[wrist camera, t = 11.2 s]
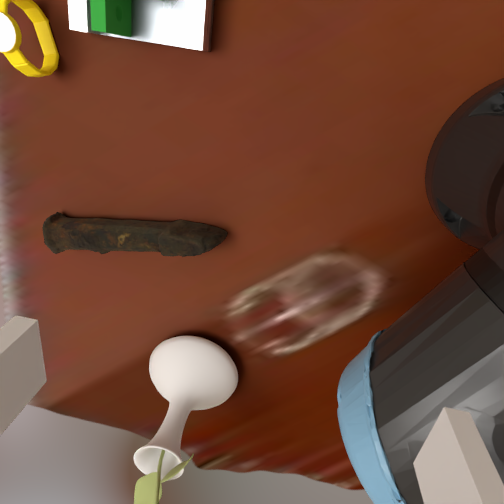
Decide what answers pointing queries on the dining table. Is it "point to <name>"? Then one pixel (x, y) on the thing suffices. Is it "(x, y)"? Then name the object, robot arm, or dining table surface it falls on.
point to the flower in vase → (181, 404)
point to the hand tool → (130, 235)
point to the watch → (9, 37)
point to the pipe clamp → (111, 16)
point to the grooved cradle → (158, 21)
